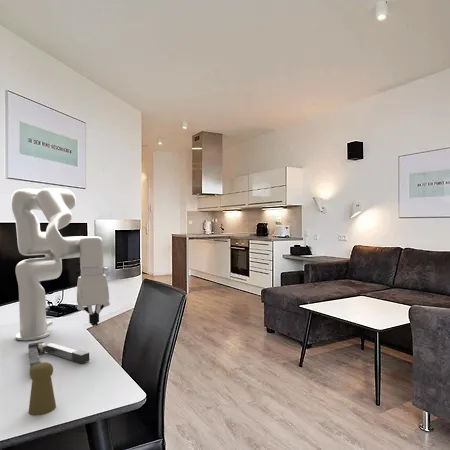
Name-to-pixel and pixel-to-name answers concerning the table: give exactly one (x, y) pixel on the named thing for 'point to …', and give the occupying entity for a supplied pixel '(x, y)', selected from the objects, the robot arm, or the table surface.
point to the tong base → (34, 353)
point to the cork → (41, 389)
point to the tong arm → (64, 352)
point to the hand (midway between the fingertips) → (94, 324)
